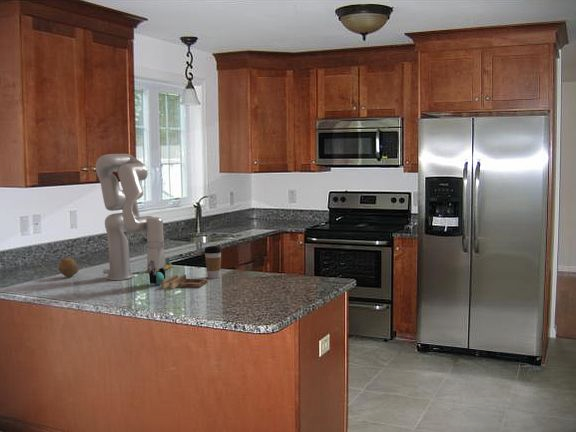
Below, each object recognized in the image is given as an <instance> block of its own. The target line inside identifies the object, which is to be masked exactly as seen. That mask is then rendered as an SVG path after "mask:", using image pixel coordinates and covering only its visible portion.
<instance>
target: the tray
mask: <svg viewBox="0 0 576 432" xmlns="http://www.w3.org/2000/svg"><path fill="white" fill-rule="evenodd" d="M206 283H207V284H208V279H207V278H186V279H185V280H184V281H182V282H180V283H179V286H178V288H186V287H187V288H190V289H191V288H192V289H195V288H196V289H200V288H201V287H203V286H205V285H206Z"/></svg>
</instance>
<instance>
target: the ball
mask: <svg viewBox="0 0 576 432" xmlns="http://www.w3.org/2000/svg"><path fill="white" fill-rule="evenodd" d="M155 275H156V280H157V283H156V284H154V285H156V286H157V285H158V286H160V285H161V282H163V281H164V280H165V279H164V275H163V274H162V273H161V272H158V271H157V272H156V274H155Z"/></svg>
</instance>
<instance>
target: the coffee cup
mask: <svg viewBox="0 0 576 432" xmlns="http://www.w3.org/2000/svg"><path fill="white" fill-rule="evenodd" d="M203 252H204V256H205V257H204V259H205V266H206V273H207V278H208V279H209V280H210V279H214V278H215V279H219V278H221V265H222V249H221V246H217V245H210V246H205V247H204V251H203Z"/></svg>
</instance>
